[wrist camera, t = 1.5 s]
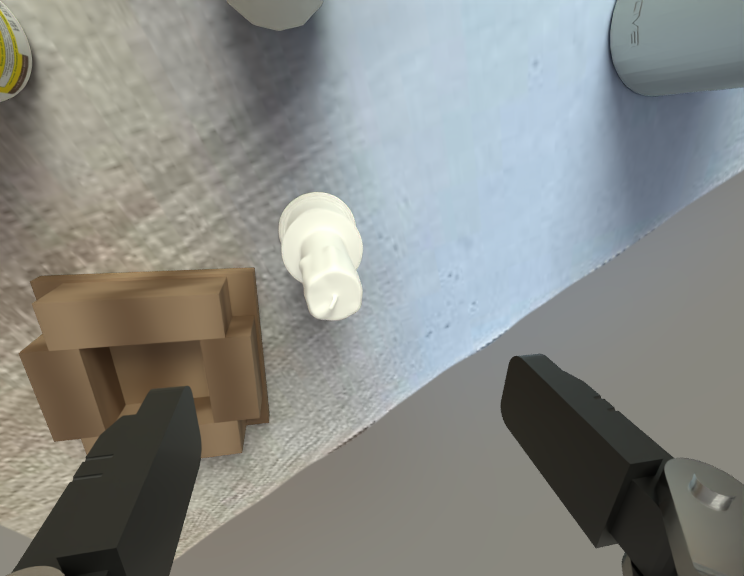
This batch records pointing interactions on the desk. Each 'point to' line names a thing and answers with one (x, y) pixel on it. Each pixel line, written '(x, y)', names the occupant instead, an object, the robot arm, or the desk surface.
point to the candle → (323, 254)
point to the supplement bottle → (13, 55)
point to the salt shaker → (276, 12)
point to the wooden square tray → (148, 350)
